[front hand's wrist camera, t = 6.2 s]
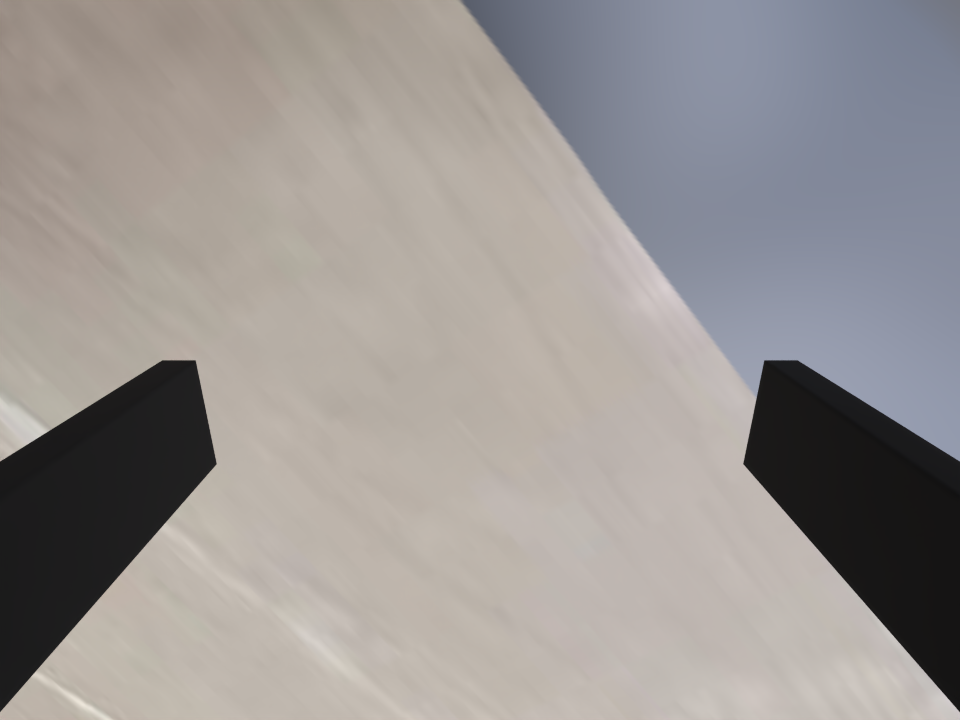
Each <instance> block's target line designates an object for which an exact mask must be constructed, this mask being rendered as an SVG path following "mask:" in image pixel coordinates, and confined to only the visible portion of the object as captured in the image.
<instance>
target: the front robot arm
mask: <svg viewBox="0 0 960 720" xmlns="http://www.w3.org/2000/svg"><path fill="white" fill-rule="evenodd" d="M216 464H217V463H216V458H215V454H214V449H213V444H212V439H211V434H210V429H209V424H208V419H207V414H206V409H205V404H204V399H203V395H202V390H201V385H200V380H199V375H198V370H197V365H196V360H162V361H161V362H159V363H158V364H156V365H154V366H153V367H151V368H150V369H148V370H146V371H145V372H143V373H142V374H140V375H138V376H137V377H135V378H134V379H132V380H130V381H129V382H127V383H125V384H124V385H122V386H121V387H119V388H117V389H116V390H114V391H113V392H111V393H109V394H108V395H106V396H105V397H103V398H101V399H100V400H98V401H97V402H95V403H93V404H92V405H90V406H89V407H87V408H85V409H84V410H82V411H81V412H79V413H77V414H76V415H74V416H73V417H71V418H69V419H68V420H66V421H65V422H63V423H61V424H60V425H58V426H57V427H55V428H53V429H52V430H50V431H49V432H47V433H45V434H44V435H42V436H41V437H39V438H37V439H36V440H34V441H33V442H31V443H29V444H28V445H26V446H24V447H23V448H21V449H20V450H18V451H16V452H15V453H13V454H12V455H10V456H8V457H7V458H5V459H4V460H2V461H0V712H1V710H2V709H3V708H4V707H5V706H6V705H7V704H8V702H9V701H10V700H11V699H12V698H13V697H14V696H15V694H16V693H17V692H18V691H19V690H20V689H21V688H22V686H23V685H24V684H25V683H26V682H27V681H28V680H29V678H30V677H31V676H32V675H33V674H34V673H35V671H36V670H37V669H38V668H39V667H40V666H41V665H42V663H43V662H44V661H45V660H46V659H47V658H48V657H49V655H50V654H51V653H52V652H53V651H54V650H55V649H56V647H57V646H58V645H59V644H60V643H61V642H62V641H63V639H64V638H65V637H66V636H67V635H68V634H69V633H70V631H71V630H72V629H73V628H74V627H75V626H76V625H77V623H78V622H79V621H80V620H81V619H82V618H83V617H84V615H85V614H86V613H87V612H88V611H89V610H90V608H91V607H92V606H93V605H94V604H95V603H96V602H97V600H98V599H99V598H100V597H101V596H102V595H103V594H104V592H105V591H106V590H107V589H108V588H109V587H110V586H111V584H112V583H113V582H114V581H115V580H116V579H117V578H118V576H119V575H120V574H121V573H122V572H123V571H124V570H125V568H126V567H127V566H128V565H129V564H130V563H131V562H132V560H133V559H134V558H135V557H136V556H137V555H138V554H139V552H140V551H141V550H142V549H143V548H144V547H145V545H146V544H147V543H148V542H149V541H150V540H151V539H152V537H153V536H154V535H155V534H156V533H157V532H158V531H159V529H160V528H161V527H162V526H163V525H164V524H165V523H166V521H167V520H168V519H169V518H170V517H171V516H172V515H173V513H174V512H175V511H176V510H177V509H178V508H179V507H180V505H181V504H182V503H183V502H184V501H185V500H186V499H187V497H188V496H189V495H190V494H191V493H192V492H193V491H194V489H195V488H196V487H197V486H198V485H199V484H200V483H201V481H202V480H203V479H204V478H205V477H206V476H207V474H208V473H209V472H210V471H211V470H212V469H213V468H214V466H215V465H216ZM743 464H744V465H745V466H746V468H747V469H748V470H749V471H750V472H751V473H752V474H753V476H754V477H755V478H756V479H757V480H758V481H759V483H760V484H761V485H762V486H763V487H764V488H765V489H766V491H767V492H768V493H769V494H770V495H771V496H772V497H773V499H774V500H775V501H776V502H777V503H778V504H779V505H780V507H781V508H782V509H783V510H784V511H785V512H786V513H787V515H788V516H789V517H790V518H791V519H792V520H793V521H794V523H795V524H796V525H797V526H798V527H799V528H800V529H801V531H802V532H803V533H804V534H805V535H806V536H807V537H808V539H809V540H810V541H811V542H812V543H813V544H814V546H815V547H816V548H817V549H818V550H819V551H820V552H821V554H822V555H823V556H824V557H825V558H826V559H827V560H828V562H829V563H830V564H831V565H832V566H833V567H834V568H835V570H836V571H837V572H838V573H839V574H840V575H841V576H842V578H843V579H844V580H845V581H846V582H847V583H848V584H849V586H850V587H851V588H852V589H853V590H854V591H855V592H856V594H857V595H858V596H859V597H860V598H861V599H862V600H863V602H864V603H865V604H866V605H867V606H868V607H869V608H870V610H871V611H872V612H873V613H874V614H875V615H876V617H877V618H878V619H879V620H880V621H881V622H882V623H883V625H884V626H885V627H886V628H887V629H888V630H889V631H890V633H891V634H892V635H893V636H894V637H895V638H896V639H897V641H898V642H899V643H900V644H901V645H902V646H903V647H904V649H905V650H906V651H907V652H908V653H909V654H910V655H911V657H912V658H913V659H914V660H915V661H916V662H917V663H918V665H919V666H920V667H921V668H922V669H923V670H924V671H925V673H926V674H927V675H928V676H929V677H930V678H931V680H932V681H933V682H934V683H935V684H936V685H937V686H938V688H939V689H940V690H941V691H942V692H943V693H944V694H945V696H946V697H947V698H948V699H949V700H950V701H951V702H952V704H953V705H954V706H955V707H956V708H957V709H958V710H959V712H960V461H958V460H956V459H955V458H953V457H952V456H950V455H948V454H947V453H945V452H943V451H942V450H940V449H939V448H937V447H936V446H934V445H932V444H931V443H929V442H927V441H926V440H924V439H923V438H921V437H919V436H918V435H916V434H915V433H913V432H911V431H910V430H908V429H907V428H905V427H903V426H902V425H900V424H899V423H897V422H895V421H894V420H892V419H891V418H889V417H887V416H886V415H884V414H883V413H881V412H879V411H878V410H876V409H875V408H873V407H871V406H870V405H868V404H867V403H865V402H863V401H862V400H860V399H859V398H857V397H855V396H854V395H852V394H851V393H849V392H847V391H846V390H844V389H843V388H841V387H839V386H838V385H836V384H835V383H833V382H831V381H830V380H828V379H826V378H825V377H823V376H822V375H820V374H818V373H817V372H815V371H814V370H812V369H810V368H809V367H807V366H806V365H804V364H802V363H801V362H799V361H796V360H790V361H789V360H788V361H786V360H781V361H779V360H776V361H775V360H774V361H773V360H771V361H770V360H768V361H764V365H763V370H762V375H761V380H760V385H759V390H758V395H757V399H756V404H755V409H754V414H753V419H752V424H751V429H750V434H749V439H748V444H747V449H746V454H745V458H744V463H743Z"/></svg>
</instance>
